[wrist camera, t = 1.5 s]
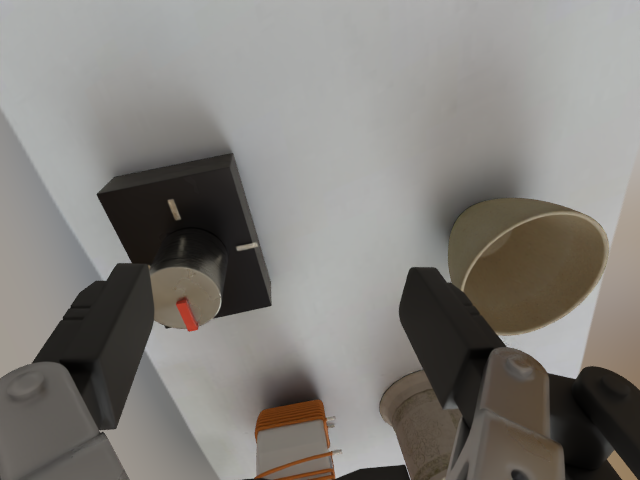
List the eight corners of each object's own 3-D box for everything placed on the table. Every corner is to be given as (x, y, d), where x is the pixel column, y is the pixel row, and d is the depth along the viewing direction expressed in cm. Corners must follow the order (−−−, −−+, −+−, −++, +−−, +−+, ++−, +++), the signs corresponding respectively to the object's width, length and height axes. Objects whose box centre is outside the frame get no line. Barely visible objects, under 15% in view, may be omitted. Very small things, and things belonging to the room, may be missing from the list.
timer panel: (109, 177, 24) (89, 196, 22) (237, 151, 25) (234, 166, 22) (170, 304, 30) (161, 331, 27) (274, 281, 30) (275, 306, 27)
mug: (427, 435, 44) (477, 559, 34) (362, 416, 40) (396, 548, 30) (514, 356, 39) (604, 474, 29) (448, 326, 35) (525, 448, 25)
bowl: (418, 186, 28) (463, 231, 21) (546, 158, 28) (626, 195, 22) (422, 289, 33) (459, 350, 27) (530, 265, 33) (592, 319, 27)
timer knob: (148, 236, 23) (123, 280, 19) (216, 221, 24) (206, 262, 19) (173, 289, 26) (156, 339, 21) (235, 276, 26) (230, 323, 22)
